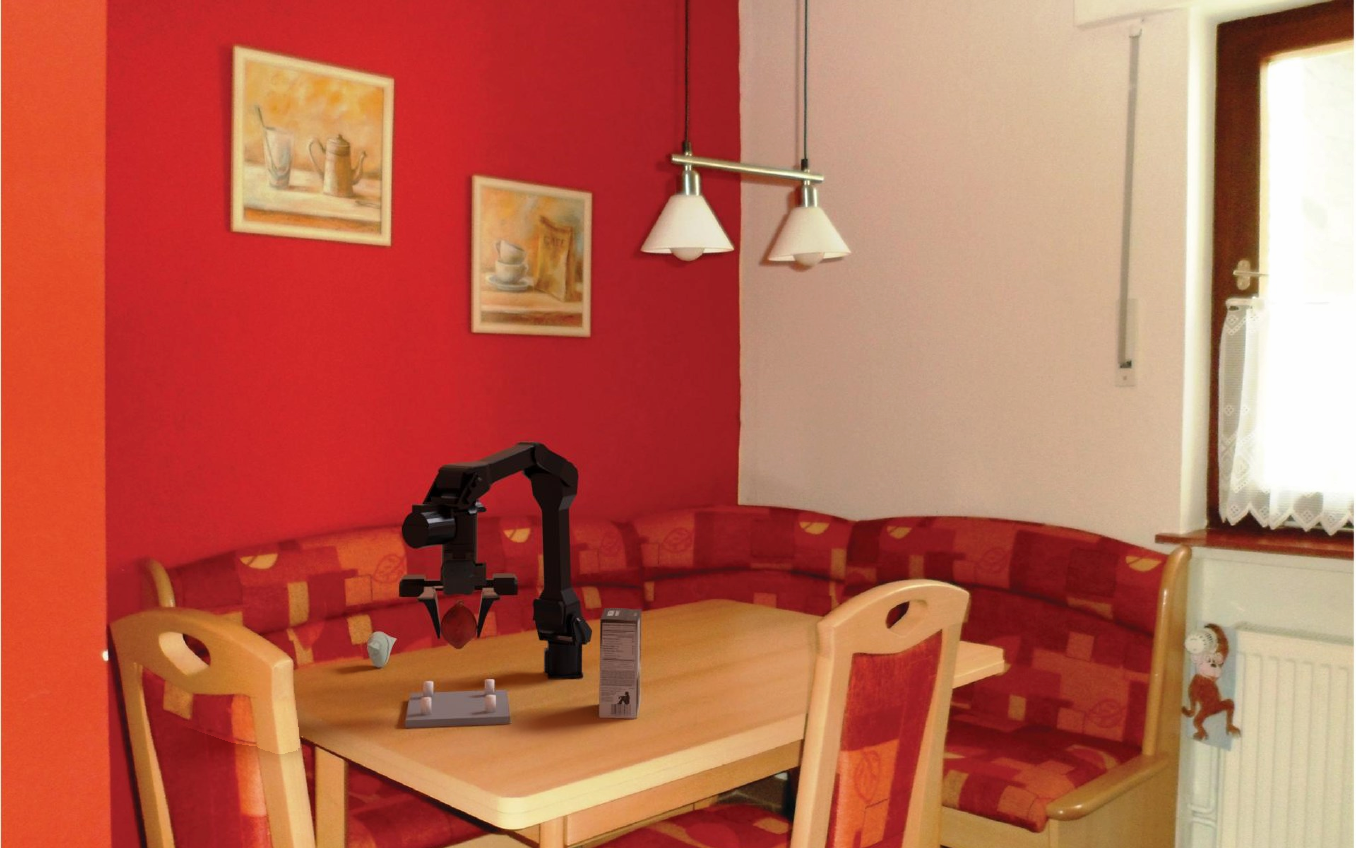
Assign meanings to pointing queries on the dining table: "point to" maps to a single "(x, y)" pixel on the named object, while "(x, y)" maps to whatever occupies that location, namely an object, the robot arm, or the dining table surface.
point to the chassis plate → (457, 707)
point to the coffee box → (620, 663)
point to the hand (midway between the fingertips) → (458, 638)
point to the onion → (458, 625)
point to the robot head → (379, 648)
